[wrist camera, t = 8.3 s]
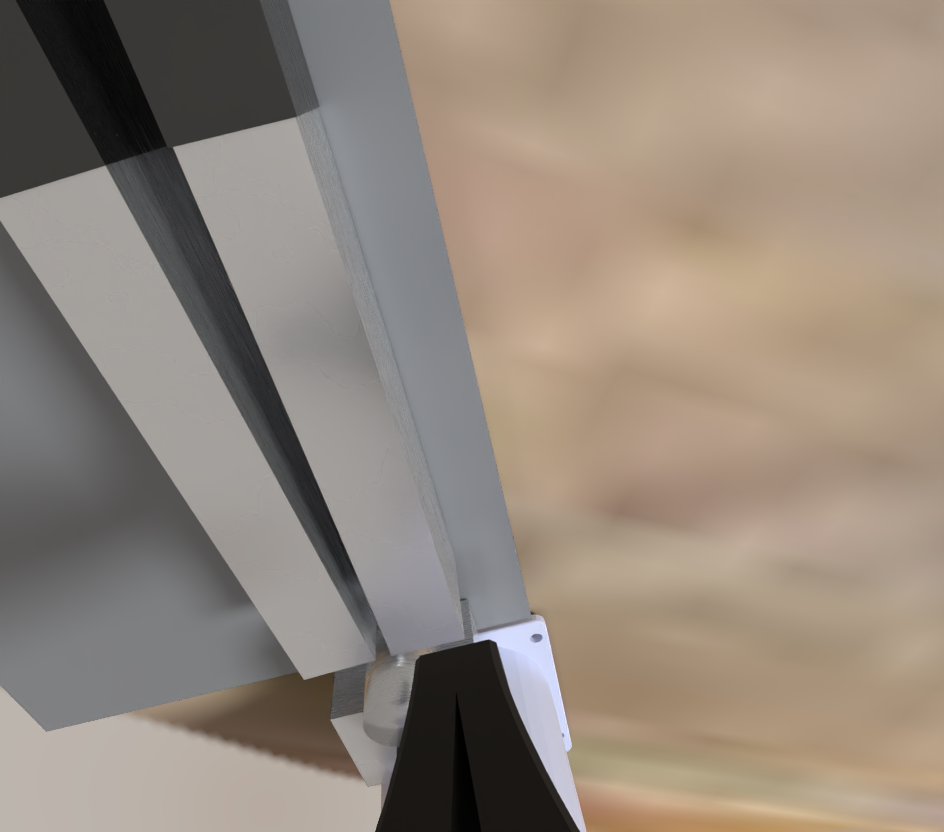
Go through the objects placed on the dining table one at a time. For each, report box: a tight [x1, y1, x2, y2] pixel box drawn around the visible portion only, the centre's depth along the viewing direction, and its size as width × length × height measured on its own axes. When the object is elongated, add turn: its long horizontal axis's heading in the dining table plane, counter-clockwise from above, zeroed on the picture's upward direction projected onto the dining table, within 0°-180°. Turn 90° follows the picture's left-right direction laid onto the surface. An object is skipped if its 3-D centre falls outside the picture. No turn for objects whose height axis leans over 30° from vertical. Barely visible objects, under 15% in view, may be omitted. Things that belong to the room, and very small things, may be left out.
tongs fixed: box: [104, 0, 480, 787], centre depth 16 cm, size 24×5×5 cm, turn 12°
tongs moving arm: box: [0, 0, 377, 680], centre depth 14 cm, size 18×2×4 cm, turn 15°
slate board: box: [0, 0, 531, 731], centre depth 17 cm, size 23×19×1 cm
